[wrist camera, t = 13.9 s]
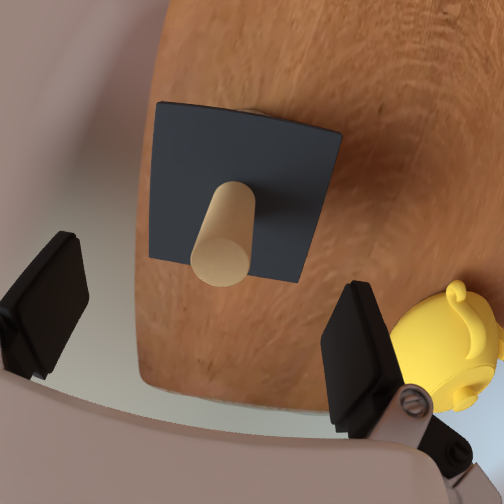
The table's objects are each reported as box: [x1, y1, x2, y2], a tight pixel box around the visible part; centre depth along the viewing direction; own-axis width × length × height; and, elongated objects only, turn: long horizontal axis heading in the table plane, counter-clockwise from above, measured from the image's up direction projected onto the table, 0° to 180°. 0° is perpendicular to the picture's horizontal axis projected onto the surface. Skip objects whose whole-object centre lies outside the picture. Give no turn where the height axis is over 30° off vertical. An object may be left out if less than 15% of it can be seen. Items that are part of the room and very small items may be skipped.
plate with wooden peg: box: [149, 101, 343, 287], centre depth 15 cm, size 10×10×7 cm
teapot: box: [390, 280, 504, 413], centre depth 30 cm, size 20×19×13 cm
